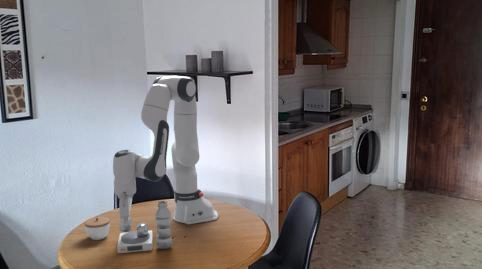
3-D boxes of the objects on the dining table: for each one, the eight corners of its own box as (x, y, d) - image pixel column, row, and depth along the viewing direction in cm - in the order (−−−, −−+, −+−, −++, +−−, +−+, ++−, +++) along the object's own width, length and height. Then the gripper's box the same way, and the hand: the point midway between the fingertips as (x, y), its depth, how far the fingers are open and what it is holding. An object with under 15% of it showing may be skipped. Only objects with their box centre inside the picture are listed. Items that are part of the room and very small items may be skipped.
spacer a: (131, 227, 183) (132, 216, 182) (130, 232, 178) (131, 220, 177) (119, 227, 182) (120, 216, 181) (119, 231, 177) (119, 220, 176)
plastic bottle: (157, 244, 181) (154, 200, 178) (173, 244, 182) (171, 199, 179) (155, 251, 175) (153, 205, 172) (171, 250, 176) (169, 204, 172)
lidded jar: (103, 230, 198) (102, 211, 196) (115, 237, 190) (113, 217, 189) (81, 237, 191) (80, 217, 189) (92, 244, 183) (90, 223, 181)
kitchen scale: (152, 236, 190) (152, 228, 190) (152, 250, 176) (151, 241, 176) (120, 239, 188) (119, 231, 187) (117, 253, 174) (116, 245, 173)
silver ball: (148, 232, 185) (147, 222, 184) (148, 237, 180) (147, 226, 179) (137, 233, 184) (136, 223, 183) (136, 238, 179) (135, 227, 178)
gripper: (131, 196, 168) (133, 229, 170) (134, 182, 187) (135, 211, 190) (115, 197, 166) (116, 230, 169) (119, 182, 186) (121, 212, 189)
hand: (126, 220), depth 179 cm, fingers closed on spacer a, 5 cm apart
